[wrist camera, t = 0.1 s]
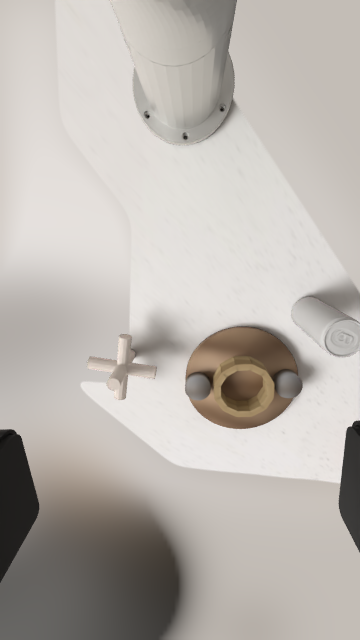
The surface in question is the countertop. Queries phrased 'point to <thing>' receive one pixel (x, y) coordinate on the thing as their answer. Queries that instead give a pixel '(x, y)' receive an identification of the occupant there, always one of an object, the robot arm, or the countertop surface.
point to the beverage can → (327, 326)
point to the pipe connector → (121, 367)
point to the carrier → (241, 378)
